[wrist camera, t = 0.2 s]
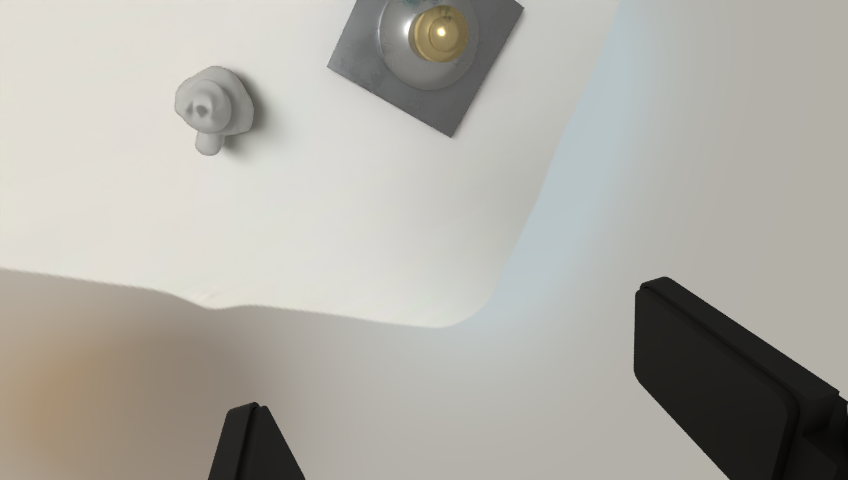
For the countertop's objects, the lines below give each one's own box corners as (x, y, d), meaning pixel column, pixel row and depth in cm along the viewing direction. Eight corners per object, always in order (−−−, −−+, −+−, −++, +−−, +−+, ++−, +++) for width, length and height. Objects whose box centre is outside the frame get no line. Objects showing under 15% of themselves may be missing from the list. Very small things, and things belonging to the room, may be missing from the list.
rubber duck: (263, 77, 34) (246, 84, 27) (250, 155, 36) (230, 180, 29) (190, 54, 32) (150, 55, 25) (181, 137, 35) (142, 160, 27)
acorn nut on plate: (395, -85, 31) (413, -124, 24) (518, 9, 36) (563, -2, 29) (326, 66, 34) (326, 70, 28) (447, 135, 39) (472, 153, 32)
